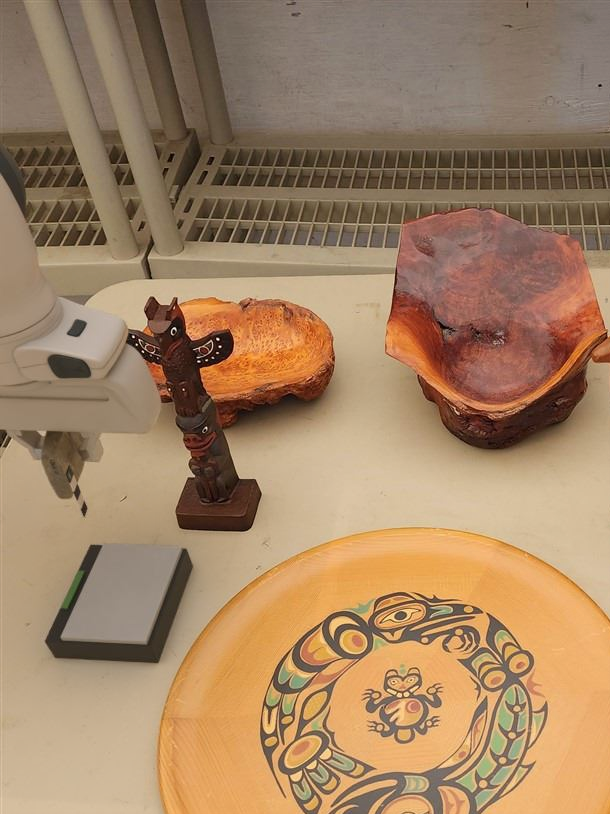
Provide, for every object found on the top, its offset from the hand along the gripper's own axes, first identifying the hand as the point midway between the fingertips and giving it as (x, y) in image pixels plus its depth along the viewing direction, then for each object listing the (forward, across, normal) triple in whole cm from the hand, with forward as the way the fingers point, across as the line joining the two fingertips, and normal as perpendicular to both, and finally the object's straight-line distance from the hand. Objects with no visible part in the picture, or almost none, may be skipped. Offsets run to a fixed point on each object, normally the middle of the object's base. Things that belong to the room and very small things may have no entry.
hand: (70, 456), depth 83 cm
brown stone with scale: (+2, 0, 0) cm, 2 cm away
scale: (+19, +1, -4) cm, 20 cm away
